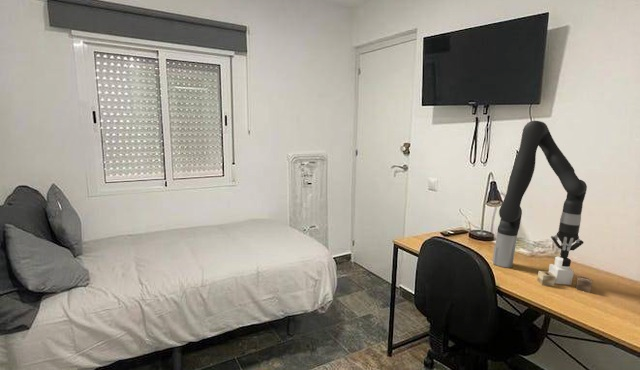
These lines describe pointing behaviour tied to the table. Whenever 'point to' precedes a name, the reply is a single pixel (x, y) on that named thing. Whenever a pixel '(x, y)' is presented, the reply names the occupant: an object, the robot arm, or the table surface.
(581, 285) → the walnut cube
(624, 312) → the table surface
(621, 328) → the table surface
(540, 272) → the oak cube
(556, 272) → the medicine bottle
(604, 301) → the table surface
